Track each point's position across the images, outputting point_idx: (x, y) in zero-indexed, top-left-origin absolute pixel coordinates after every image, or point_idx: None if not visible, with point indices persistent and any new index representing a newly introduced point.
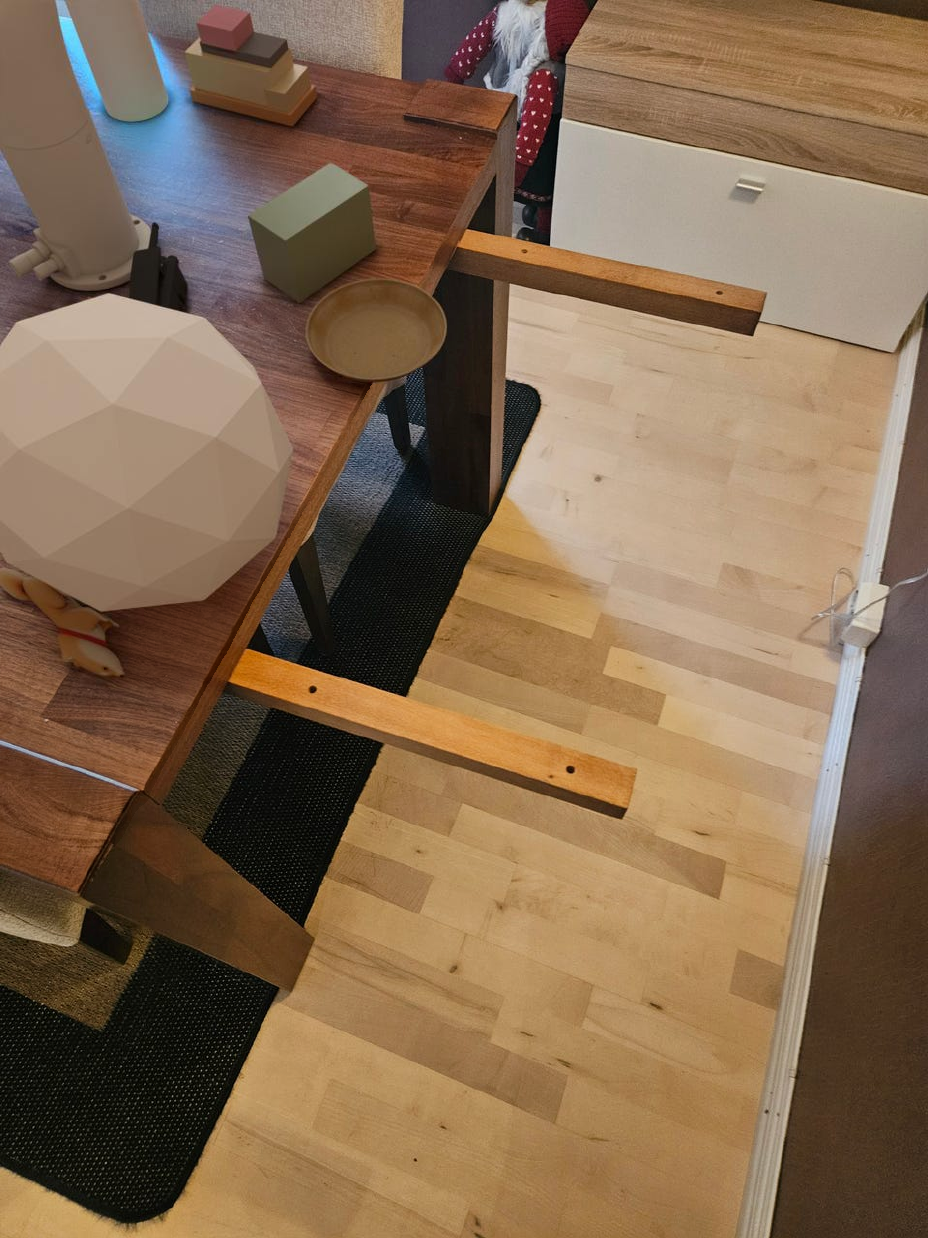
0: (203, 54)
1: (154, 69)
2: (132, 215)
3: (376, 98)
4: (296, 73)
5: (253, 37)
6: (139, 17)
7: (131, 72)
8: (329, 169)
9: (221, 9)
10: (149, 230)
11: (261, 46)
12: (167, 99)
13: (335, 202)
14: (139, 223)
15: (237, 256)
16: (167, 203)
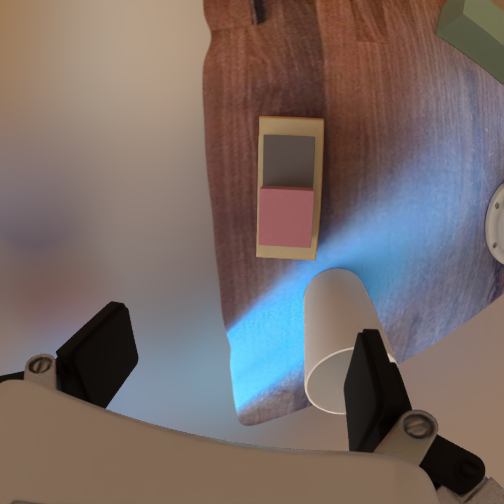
0: (313, 235)
1: (338, 284)
2: (491, 213)
3: (238, 59)
4: (278, 124)
5: (276, 179)
6: (343, 311)
7: (367, 297)
8: (470, 14)
9: (268, 230)
10: (501, 190)
11: (292, 159)
12: (326, 271)
13: (495, 8)
14: (497, 202)
15: (493, 111)
16: (462, 196)
